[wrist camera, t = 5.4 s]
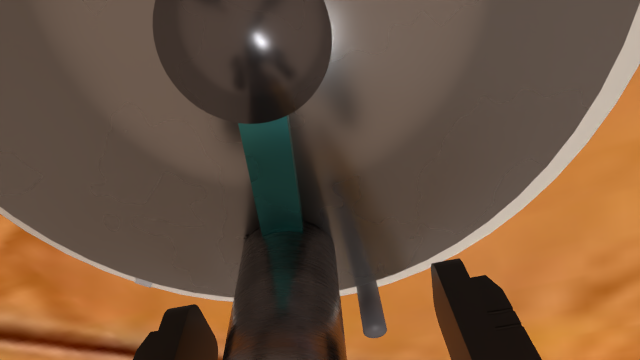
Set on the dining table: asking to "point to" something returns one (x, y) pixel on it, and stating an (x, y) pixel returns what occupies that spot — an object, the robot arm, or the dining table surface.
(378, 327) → the stand
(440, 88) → the capstan
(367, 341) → the dining table surface
